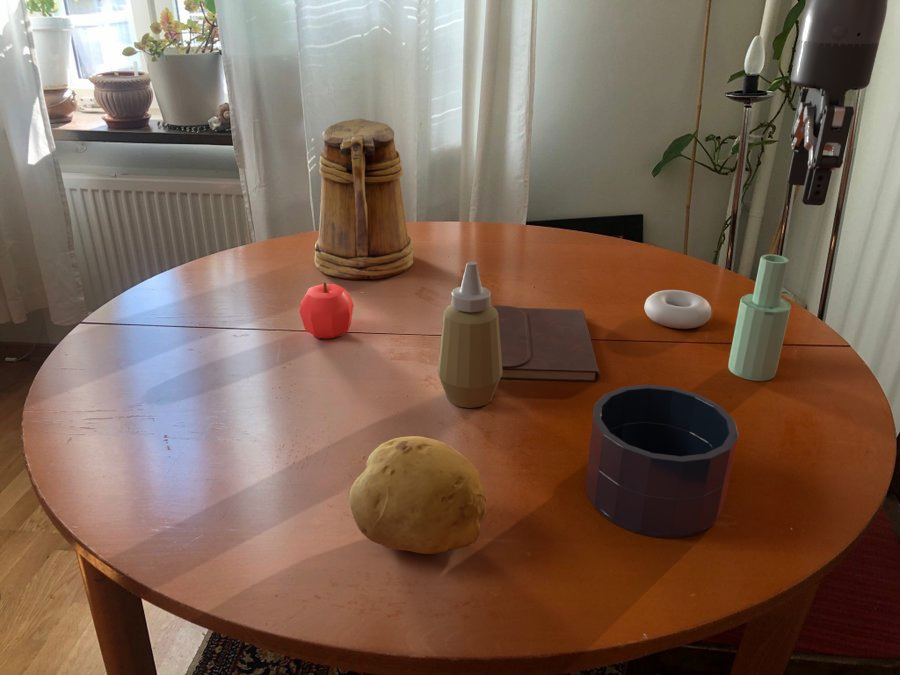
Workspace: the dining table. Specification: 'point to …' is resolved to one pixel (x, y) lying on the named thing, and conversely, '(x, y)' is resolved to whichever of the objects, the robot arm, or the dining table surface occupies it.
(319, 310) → the apple
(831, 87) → the robot arm
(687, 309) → the donut
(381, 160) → the tankard
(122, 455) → the dining table surface
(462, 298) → the squeeze bottle
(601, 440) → the pot
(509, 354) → the notebook
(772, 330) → the bottle
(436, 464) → the potato
